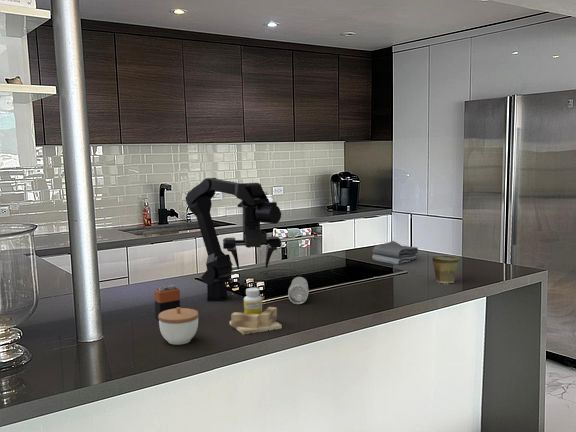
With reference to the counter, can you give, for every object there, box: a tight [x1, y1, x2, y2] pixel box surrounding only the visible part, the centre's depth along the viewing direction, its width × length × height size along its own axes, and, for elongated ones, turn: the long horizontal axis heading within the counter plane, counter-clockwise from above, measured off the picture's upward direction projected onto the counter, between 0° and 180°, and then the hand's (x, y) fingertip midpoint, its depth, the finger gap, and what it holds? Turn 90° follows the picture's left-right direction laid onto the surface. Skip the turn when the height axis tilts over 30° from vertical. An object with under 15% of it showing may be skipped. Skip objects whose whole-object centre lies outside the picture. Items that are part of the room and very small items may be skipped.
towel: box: [371, 240, 419, 265], centre depth 259 cm, size 15×18×8 cm
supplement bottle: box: [243, 287, 263, 314], centre depth 165 cm, size 5×5×10 cm
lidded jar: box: [158, 306, 199, 346], centre depth 152 cm, size 11×11×9 cm
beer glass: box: [287, 276, 310, 305], centre depth 194 cm, size 7×7×15 cm
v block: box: [229, 306, 283, 336], centre depth 164 cm, size 11×15×4 cm
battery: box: [154, 284, 181, 320], centre depth 173 cm, size 4×7×10 cm, turn 127°
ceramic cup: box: [432, 254, 460, 285], centre depth 217 cm, size 13×10×10 cm
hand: (252, 268), depth 183 cm, fingers open, 9 cm apart
